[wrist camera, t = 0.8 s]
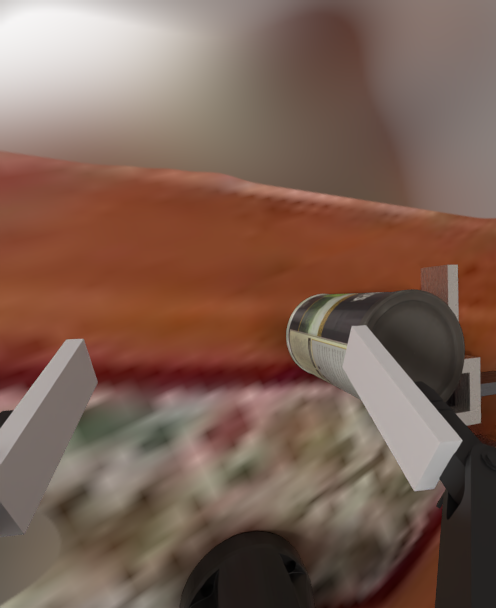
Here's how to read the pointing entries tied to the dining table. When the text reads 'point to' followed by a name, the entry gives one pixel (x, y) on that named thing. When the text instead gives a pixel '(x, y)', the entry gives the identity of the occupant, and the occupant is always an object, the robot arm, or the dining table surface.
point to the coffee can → (380, 336)
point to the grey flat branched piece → (471, 381)
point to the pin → (486, 440)
